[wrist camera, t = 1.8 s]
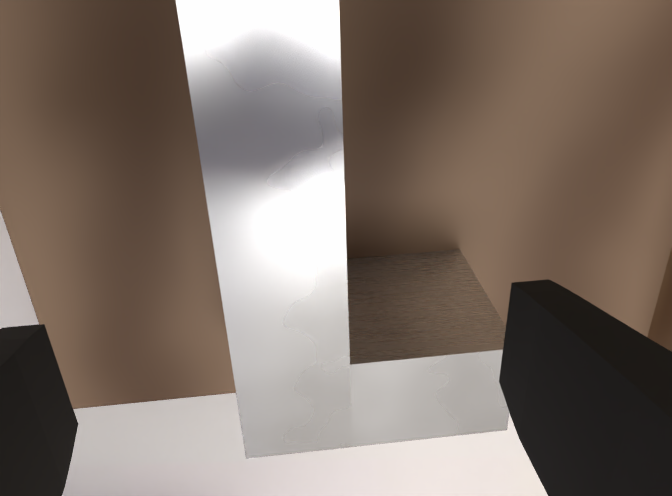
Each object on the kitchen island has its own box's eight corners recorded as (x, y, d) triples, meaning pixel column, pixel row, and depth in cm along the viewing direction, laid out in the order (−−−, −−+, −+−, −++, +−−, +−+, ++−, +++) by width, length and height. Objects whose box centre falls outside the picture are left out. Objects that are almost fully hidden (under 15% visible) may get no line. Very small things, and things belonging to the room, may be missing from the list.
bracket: (186, -137, 12) (150, -162, 8) (490, -147, 13) (593, -175, 9) (249, 339, 18) (246, 458, 14) (454, 320, 18) (506, 430, 14)
